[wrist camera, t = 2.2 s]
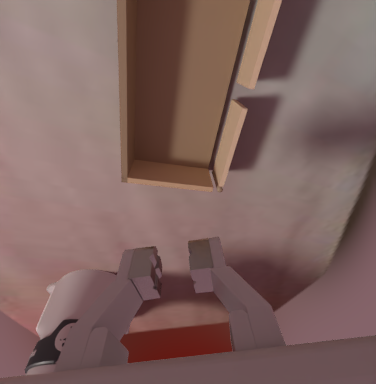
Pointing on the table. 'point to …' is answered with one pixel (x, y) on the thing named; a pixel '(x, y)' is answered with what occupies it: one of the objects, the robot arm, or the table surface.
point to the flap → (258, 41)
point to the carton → (174, 86)
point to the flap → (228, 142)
